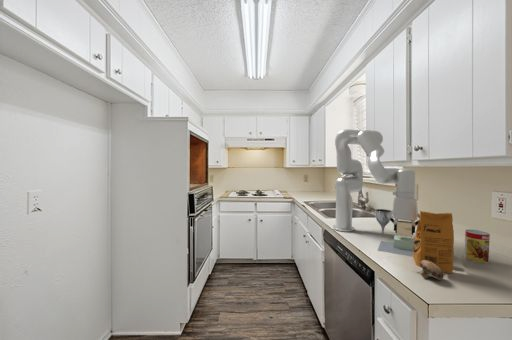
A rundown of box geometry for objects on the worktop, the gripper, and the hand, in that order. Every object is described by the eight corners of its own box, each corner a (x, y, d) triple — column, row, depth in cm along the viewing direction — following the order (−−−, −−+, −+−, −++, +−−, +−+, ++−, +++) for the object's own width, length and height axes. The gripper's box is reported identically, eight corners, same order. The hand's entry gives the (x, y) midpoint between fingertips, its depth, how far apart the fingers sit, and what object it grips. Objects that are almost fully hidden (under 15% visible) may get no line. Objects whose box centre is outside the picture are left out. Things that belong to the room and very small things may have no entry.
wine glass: (386, 241, 135) (387, 212, 135) (371, 237, 142) (372, 209, 141) (393, 238, 140) (394, 210, 139) (379, 235, 146) (380, 208, 146)
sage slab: (394, 243, 129) (394, 235, 129) (413, 245, 125) (413, 237, 125) (393, 247, 122) (393, 239, 122) (413, 250, 118) (413, 242, 118)
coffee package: (411, 260, 108) (413, 208, 108) (447, 265, 104) (449, 211, 103) (415, 269, 99) (417, 212, 98) (455, 275, 94) (457, 215, 94)
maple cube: (397, 231, 127) (397, 219, 127) (411, 233, 124) (411, 221, 124) (396, 234, 122) (397, 222, 122) (411, 236, 119) (412, 223, 119)
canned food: (489, 264, 105) (490, 235, 105) (464, 260, 110) (465, 232, 110) (487, 259, 112) (488, 231, 111) (463, 254, 116) (465, 228, 116)
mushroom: (412, 269, 92) (424, 255, 92) (413, 270, 98) (424, 257, 98) (436, 286, 87) (448, 272, 87) (435, 287, 93) (446, 273, 93)
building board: (380, 242, 132) (380, 240, 132) (415, 248, 125) (415, 246, 125) (377, 252, 118) (377, 250, 118) (416, 259, 110) (416, 257, 110)
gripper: (384, 194, 124) (383, 232, 124) (427, 197, 115) (426, 238, 115) (385, 193, 130) (384, 229, 131) (426, 195, 121) (425, 234, 122)
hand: (404, 233), depth 123 cm, fingers closed on maple cube, 6 cm apart
